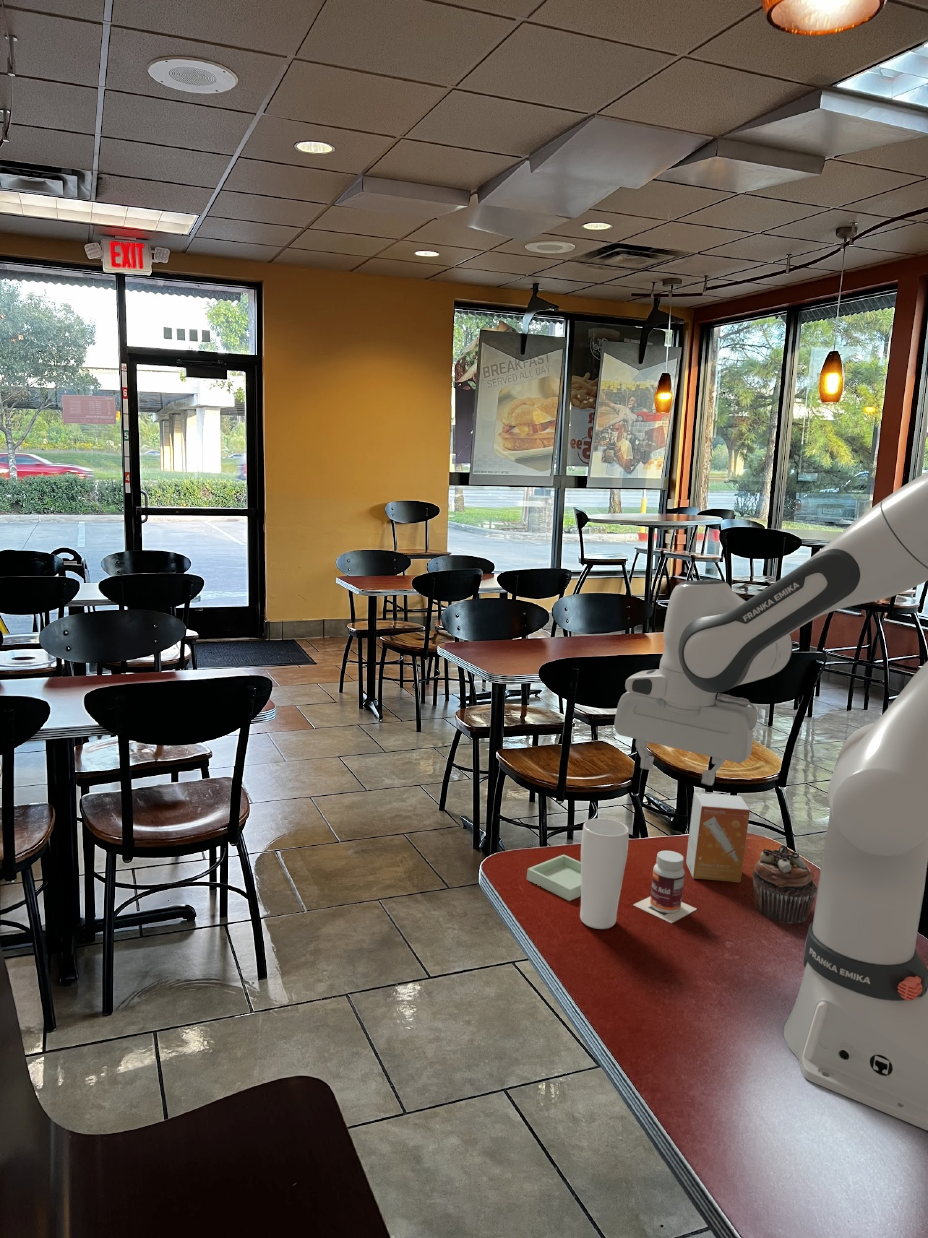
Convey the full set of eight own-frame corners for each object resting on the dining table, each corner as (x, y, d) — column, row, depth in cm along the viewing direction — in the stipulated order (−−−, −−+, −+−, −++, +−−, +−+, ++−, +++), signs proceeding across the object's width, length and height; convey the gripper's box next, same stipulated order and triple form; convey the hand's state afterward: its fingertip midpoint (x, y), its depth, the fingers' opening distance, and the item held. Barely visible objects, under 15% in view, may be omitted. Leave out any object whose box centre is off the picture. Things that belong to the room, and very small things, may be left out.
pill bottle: (643, 904, 142) (648, 854, 141) (661, 896, 145) (666, 846, 144) (668, 917, 139) (674, 865, 137) (687, 908, 142) (692, 857, 140)
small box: (692, 880, 152) (700, 805, 150) (685, 863, 158) (693, 791, 156) (741, 883, 152) (750, 809, 150) (732, 866, 158) (741, 795, 156)
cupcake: (792, 933, 137) (800, 870, 135) (736, 906, 144) (743, 846, 142) (826, 915, 143) (834, 855, 141) (771, 891, 150) (778, 833, 148)
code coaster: (697, 909, 142) (697, 908, 142) (671, 923, 137) (671, 922, 137) (659, 892, 147) (659, 891, 147) (633, 905, 142) (633, 904, 142)
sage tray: (605, 884, 149) (606, 874, 148) (569, 901, 142) (570, 889, 142) (562, 865, 155) (563, 854, 155) (526, 879, 149) (527, 868, 148)
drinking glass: (619, 913, 140) (627, 820, 137) (622, 935, 133) (631, 838, 130) (574, 908, 140) (582, 815, 137) (575, 931, 134) (583, 834, 131)
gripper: (764, 697, 133) (751, 787, 136) (630, 670, 143) (620, 754, 145) (754, 706, 128) (741, 799, 130) (615, 677, 137) (606, 765, 140)
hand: (676, 775), depth 138 cm, fingers open, 8 cm apart
